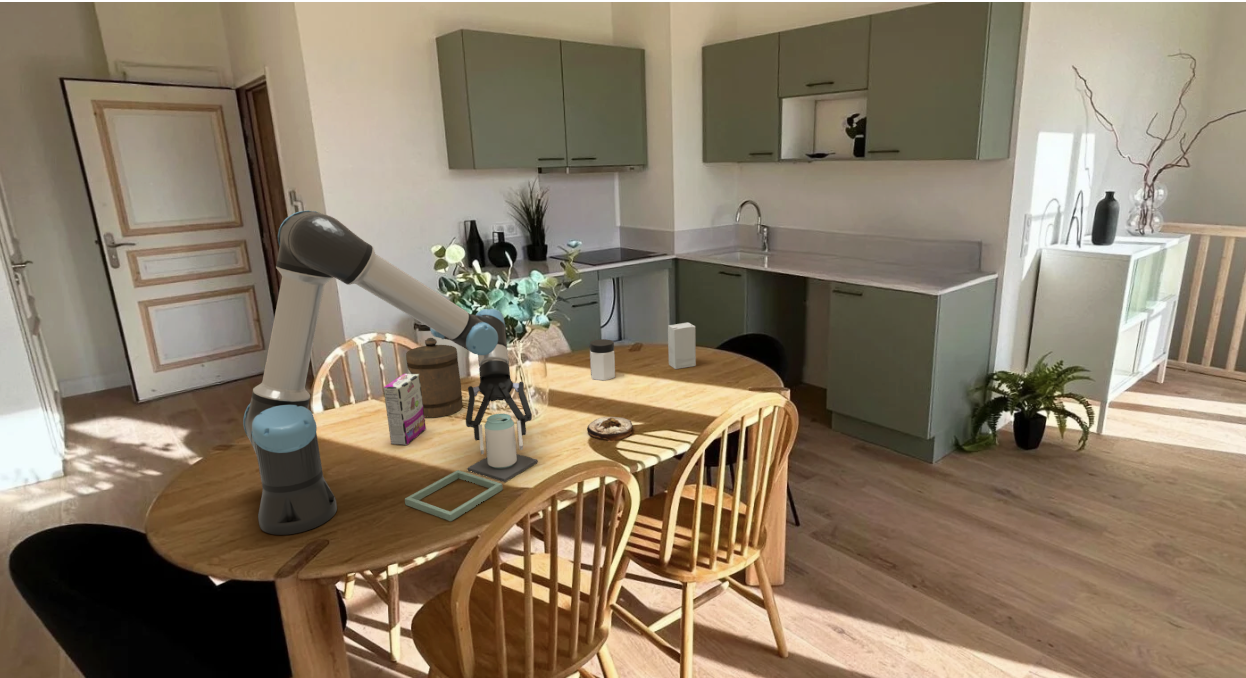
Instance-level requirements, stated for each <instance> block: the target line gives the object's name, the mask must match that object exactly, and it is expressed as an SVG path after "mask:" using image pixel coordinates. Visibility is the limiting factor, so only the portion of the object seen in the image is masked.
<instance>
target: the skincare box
mask: <svg viewBox="0 0 1246 678" xmlns="http://www.w3.org/2000/svg"><path fill="white" fill-rule="evenodd" d="M667 340H668V341H667V342H668V343H667V345H668V348H667V349H668V365H669V366H670V367H672V368H673V369H675V370H678V369H684V368H691V367H696V366H697V364H696V362H697V358H696V356H697V353H696V352H697V351H696V346H697V345H696V325H693V324H692V323H690V322H682V323H677V324H676V323H675V324H669V325H667Z"/></svg>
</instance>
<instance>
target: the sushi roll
mask: <svg viewBox="0 0 1246 678" xmlns="http://www.w3.org/2000/svg"><path fill="white" fill-rule="evenodd" d="M633 427H634V425H633V423H632V420H630V419H627V418H625V417H616V416H607V417H606V416H603V417H598V418H596V419H594V420H593V421H592V422H590V423H589V424H588V426H587V428H586V431H587V433H588V435H589V437H591V438H593V439H597V440H605V441H607V442H608V443H613V442H615V441H617V443H619V441H620V440H623V439H625V438H627V437H629V436H630V435H633V433H632V432H631V430H633Z"/></svg>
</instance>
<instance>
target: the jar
mask: <svg viewBox="0 0 1246 678" xmlns="http://www.w3.org/2000/svg"><path fill="white" fill-rule="evenodd" d="M615 357H616V356H615V342H614V341H613V340H611V339H608V338H607V339H605V338H604V339H601V338H600V339H595V340H591V341H590V342H589V360H590V361H589V363H590V366H589V367H590V376H591V379H592V380H597V381H607V380H611V379H615V378H616V368H615V367H616V363H615V359H616V358H615Z"/></svg>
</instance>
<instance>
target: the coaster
mask: <svg viewBox="0 0 1246 678" xmlns="http://www.w3.org/2000/svg"><path fill="white" fill-rule="evenodd" d="M516 455H517V461H516V462H515V463H514V464H513V465H512V466H510V467H507V468H502V469H498V468H493V467H492V466H490V465H488V462H487V456H486V457H485V458H483V459H481V460H479V461H476V463H473V464H472V465H470V466H468V467H467V468H466V470H468V471H467V472H470V471H472V472H471V473H473V472H474V473H473V474H476V473H477V474H476V475H479V474H480V476H483V475H484V476H483V477H486V476H487V477H486V478H490V479H493V480H496V481H500V482H502V483H506V482H508V481H509V480H511V479H513V478H514V477H516V476H517V475H519V474H521V473H523V472H524V471H526V470H528V469H529V467H530V468H531V467H533V466H534V464H535V465H536V464H537V462H538V459H537V458H534V457H529V456H526V455H522V454H518V453H516ZM538 463H539V462H538Z"/></svg>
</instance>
